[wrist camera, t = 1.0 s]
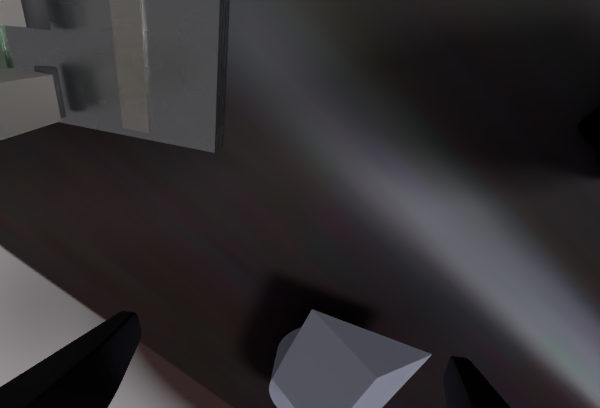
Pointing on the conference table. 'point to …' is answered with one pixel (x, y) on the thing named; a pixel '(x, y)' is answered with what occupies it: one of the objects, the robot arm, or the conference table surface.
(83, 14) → the panel
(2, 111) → the tripped breaker
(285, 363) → the wedge on round base
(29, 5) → the grey long bar piece
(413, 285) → the conference table surface
